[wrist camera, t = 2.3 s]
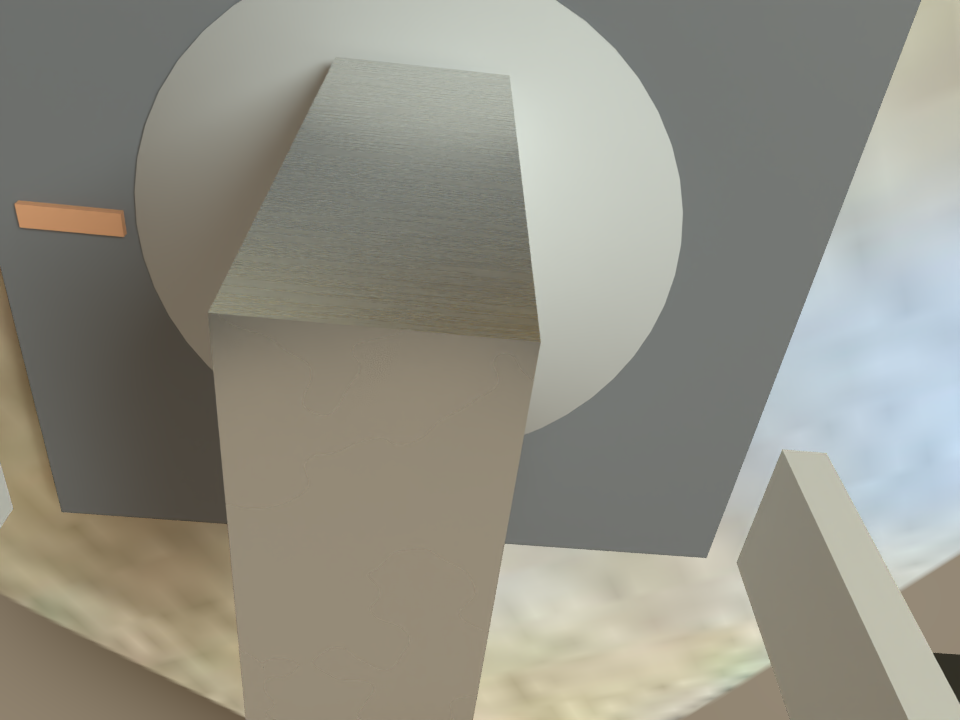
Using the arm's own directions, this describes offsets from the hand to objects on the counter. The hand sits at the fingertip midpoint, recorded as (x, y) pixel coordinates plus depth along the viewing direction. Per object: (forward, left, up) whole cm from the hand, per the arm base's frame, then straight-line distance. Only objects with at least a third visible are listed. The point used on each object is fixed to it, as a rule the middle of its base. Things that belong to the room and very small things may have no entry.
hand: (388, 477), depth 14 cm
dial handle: (0, 0, -7) cm, 7 cm away
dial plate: (0, 0, -10) cm, 10 cm away
